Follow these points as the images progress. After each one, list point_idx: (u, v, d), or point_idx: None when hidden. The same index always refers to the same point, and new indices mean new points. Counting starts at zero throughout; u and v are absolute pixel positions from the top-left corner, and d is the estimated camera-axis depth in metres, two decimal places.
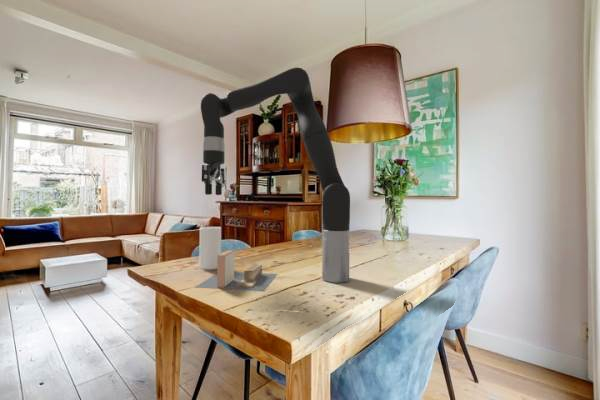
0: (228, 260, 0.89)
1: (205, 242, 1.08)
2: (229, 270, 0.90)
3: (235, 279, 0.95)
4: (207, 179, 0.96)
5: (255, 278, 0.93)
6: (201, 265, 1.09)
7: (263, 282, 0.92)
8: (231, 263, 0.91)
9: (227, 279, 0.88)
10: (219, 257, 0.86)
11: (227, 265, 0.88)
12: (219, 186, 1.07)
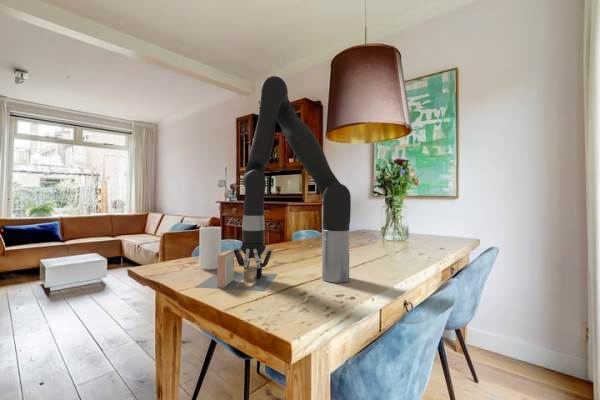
0: (228, 260, 0.89)
1: (205, 242, 1.08)
2: (229, 270, 0.90)
3: (235, 279, 0.95)
4: None
5: (255, 278, 0.93)
6: (201, 265, 1.09)
7: (263, 282, 0.92)
8: (231, 263, 0.91)
9: (227, 279, 0.88)
10: (219, 257, 0.86)
11: (227, 265, 0.88)
12: None
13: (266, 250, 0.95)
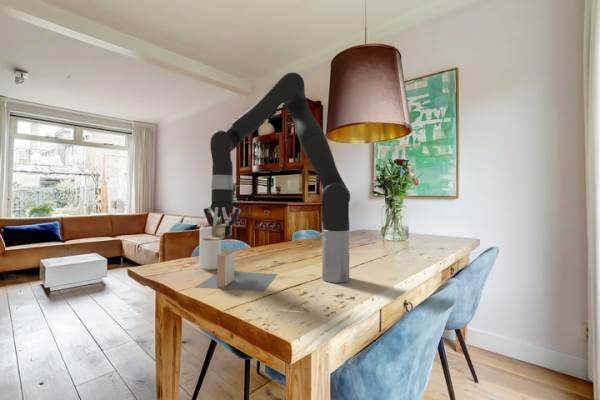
0: (228, 260, 0.89)
1: (205, 242, 1.08)
2: (229, 270, 0.90)
3: (235, 279, 0.95)
4: (235, 222, 1.01)
5: (223, 235, 0.97)
6: (201, 265, 1.09)
7: (263, 282, 0.92)
8: (231, 263, 0.91)
9: (227, 279, 0.88)
10: (219, 257, 0.86)
11: (227, 265, 0.88)
12: None
13: (234, 209, 0.99)
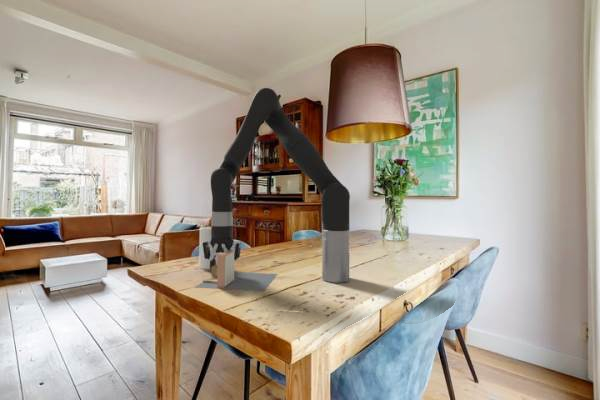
0: (228, 260, 0.89)
1: None
2: (229, 270, 0.90)
3: (235, 279, 0.95)
4: None
5: None
6: (201, 265, 1.09)
7: (263, 282, 0.92)
8: (231, 263, 0.91)
9: (227, 279, 0.88)
10: (219, 257, 0.86)
11: (227, 265, 0.88)
12: (215, 261, 1.01)
13: (234, 244, 0.99)
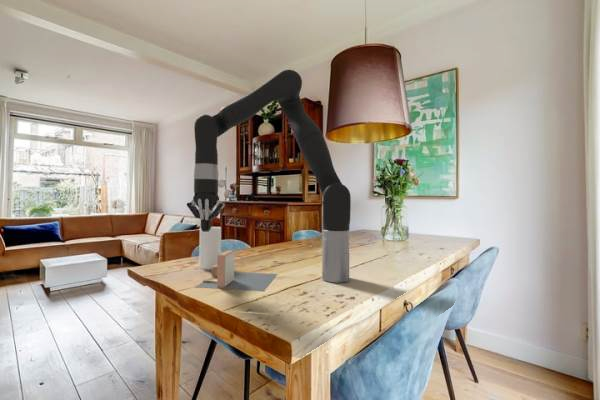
0: (228, 260, 0.89)
1: (205, 242, 1.08)
2: (229, 270, 0.90)
3: (235, 279, 0.95)
4: None
5: None
6: (201, 265, 1.09)
7: (263, 282, 0.92)
8: (231, 263, 0.91)
9: (227, 279, 0.88)
10: (219, 257, 0.86)
11: (227, 265, 0.88)
12: None
13: (218, 202, 0.90)
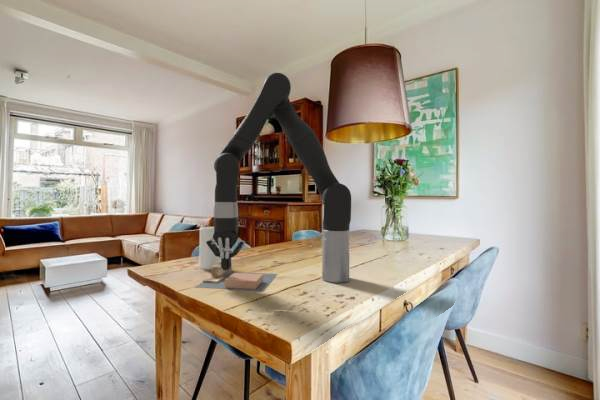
0: None
1: (205, 242, 1.08)
2: None
3: None
4: (236, 254, 0.91)
5: (223, 274, 0.97)
6: (201, 265, 1.09)
7: (263, 282, 0.92)
8: None
9: None
10: (253, 283, 0.85)
11: None
12: None
13: (239, 240, 0.89)
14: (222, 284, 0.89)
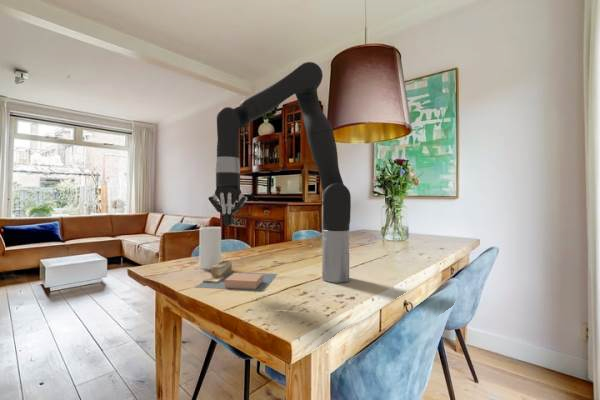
0: None
1: (205, 242, 1.08)
2: None
3: None
4: None
5: (223, 274, 0.97)
6: (201, 265, 1.09)
7: (263, 282, 0.92)
8: None
9: None
10: (253, 283, 0.85)
11: None
12: None
13: (241, 196, 0.89)
14: (222, 284, 0.89)
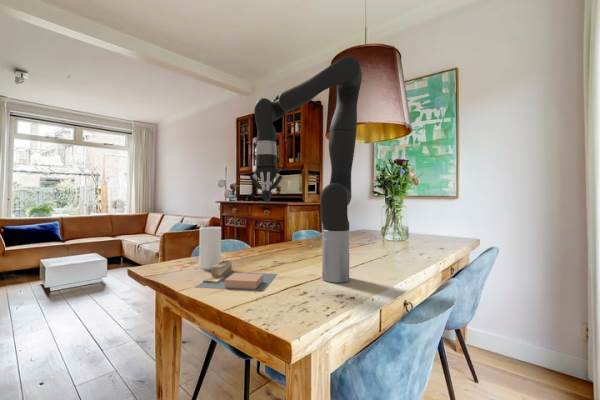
0: None
1: (205, 242, 1.08)
2: None
3: None
4: None
5: (223, 274, 0.97)
6: (201, 265, 1.09)
7: (263, 282, 0.92)
8: None
9: None
10: (253, 283, 0.85)
11: None
12: None
13: (278, 175, 1.03)
14: (222, 284, 0.89)
